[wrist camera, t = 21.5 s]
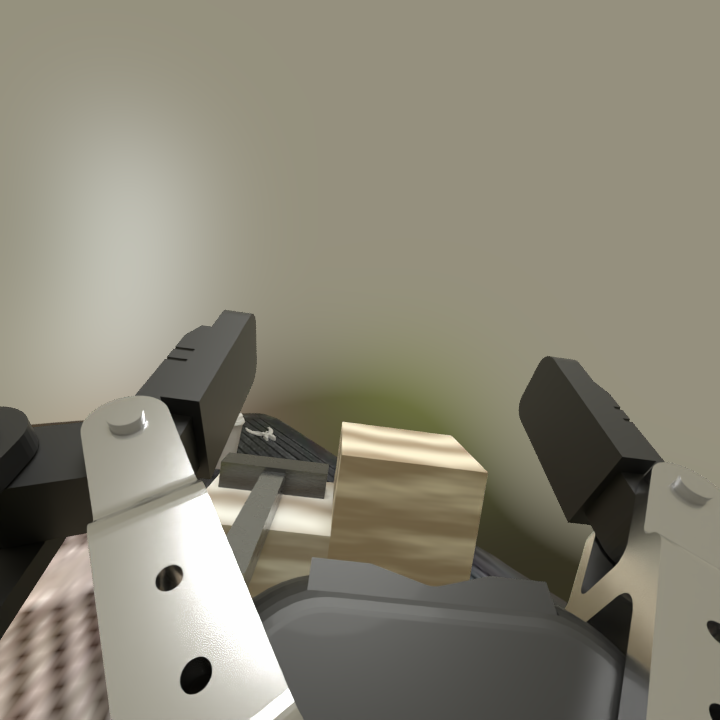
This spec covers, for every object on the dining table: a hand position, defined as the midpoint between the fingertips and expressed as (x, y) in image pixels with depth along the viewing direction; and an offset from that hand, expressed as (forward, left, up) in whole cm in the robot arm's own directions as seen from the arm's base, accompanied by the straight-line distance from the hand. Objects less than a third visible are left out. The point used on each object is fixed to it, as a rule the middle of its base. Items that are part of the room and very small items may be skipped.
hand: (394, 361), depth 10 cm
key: (+3, -25, -19) cm, 32 cm away
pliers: (+4, -129, -44) cm, 136 cm away
